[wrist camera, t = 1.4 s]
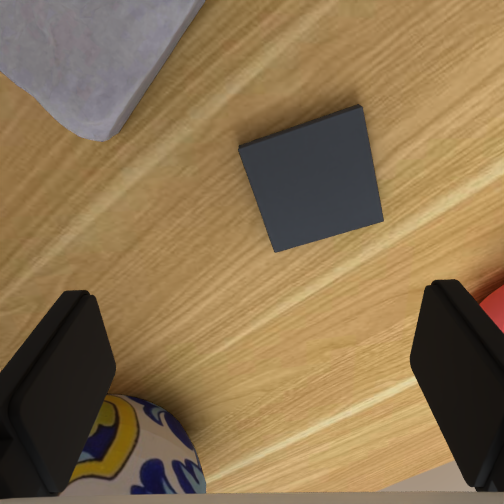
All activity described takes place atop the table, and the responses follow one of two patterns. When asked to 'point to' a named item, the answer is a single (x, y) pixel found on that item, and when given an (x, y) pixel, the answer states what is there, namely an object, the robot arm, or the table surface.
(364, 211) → the felt pad
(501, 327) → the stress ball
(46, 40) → the stone block
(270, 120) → the table surface
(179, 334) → the table surface
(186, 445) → the table lamp
